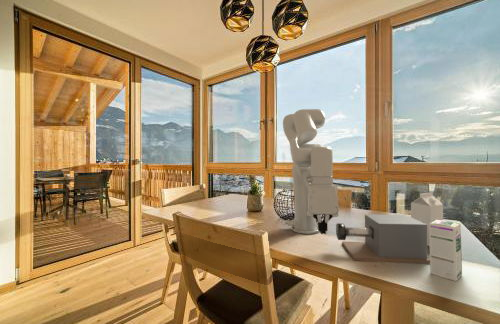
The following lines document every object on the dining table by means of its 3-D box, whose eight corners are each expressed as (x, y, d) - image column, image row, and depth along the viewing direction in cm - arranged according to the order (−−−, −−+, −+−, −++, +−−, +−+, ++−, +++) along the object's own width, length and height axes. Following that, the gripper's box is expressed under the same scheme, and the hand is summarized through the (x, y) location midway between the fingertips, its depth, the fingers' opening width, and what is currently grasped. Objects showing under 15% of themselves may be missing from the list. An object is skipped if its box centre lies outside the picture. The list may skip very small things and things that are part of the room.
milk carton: (410, 240, 87) (410, 192, 87) (422, 238, 90) (422, 191, 89) (431, 247, 81) (430, 195, 80) (443, 244, 83) (443, 193, 83)
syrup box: (456, 282, 58) (456, 227, 58) (429, 273, 63) (428, 222, 63) (462, 275, 62) (462, 223, 62) (435, 267, 67) (435, 218, 66)
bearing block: (354, 260, 72) (353, 224, 71) (342, 243, 85) (341, 213, 85) (432, 263, 68) (432, 225, 68) (407, 245, 82) (406, 214, 82)
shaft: (340, 242, 76) (339, 226, 76) (336, 236, 82) (335, 221, 82) (397, 244, 74) (397, 227, 74) (389, 238, 79) (389, 222, 79)
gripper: (301, 182, 77) (302, 235, 77) (346, 182, 75) (347, 237, 75) (299, 180, 84) (300, 229, 84) (340, 180, 82) (341, 230, 82)
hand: (322, 232), depth 79 cm, fingers closed
